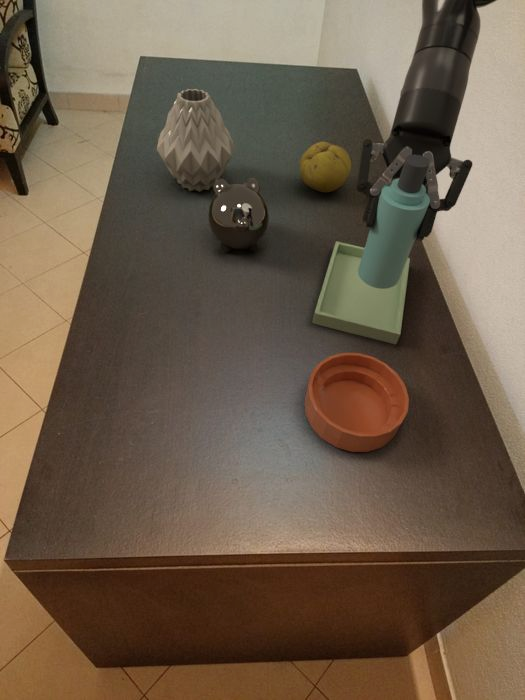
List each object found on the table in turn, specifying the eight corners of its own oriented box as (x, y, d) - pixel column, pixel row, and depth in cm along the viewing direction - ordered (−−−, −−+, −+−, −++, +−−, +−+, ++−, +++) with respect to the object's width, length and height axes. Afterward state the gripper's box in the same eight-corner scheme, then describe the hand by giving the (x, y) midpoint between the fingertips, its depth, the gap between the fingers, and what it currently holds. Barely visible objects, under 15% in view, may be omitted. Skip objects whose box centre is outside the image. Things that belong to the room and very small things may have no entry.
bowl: (402, 386, 73) (412, 366, 69) (393, 466, 64) (404, 448, 60) (314, 363, 75) (319, 342, 71) (294, 437, 66) (298, 419, 62)
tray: (406, 268, 91) (410, 258, 89) (395, 344, 78) (400, 334, 76) (333, 251, 93) (336, 241, 91) (312, 323, 80) (314, 312, 78)
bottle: (400, 266, 69) (444, 153, 56) (396, 293, 66) (443, 179, 52) (360, 257, 70) (394, 143, 57) (355, 283, 66) (389, 168, 53)
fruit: (343, 176, 111) (352, 135, 103) (347, 205, 103) (357, 162, 96) (296, 173, 110) (302, 131, 103) (297, 201, 103) (303, 158, 95)
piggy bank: (259, 217, 98) (263, 166, 89) (271, 264, 89) (276, 212, 80) (206, 219, 97) (204, 167, 88) (212, 267, 87) (211, 215, 78)
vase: (177, 157, 111) (170, 72, 97) (242, 171, 109) (246, 87, 95) (148, 193, 101) (135, 104, 87) (219, 209, 99) (219, 121, 85)
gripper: (376, 75, 56) (340, 215, 58) (500, 97, 54) (458, 242, 56) (371, 102, 63) (338, 226, 65) (479, 123, 61) (443, 250, 63)
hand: (394, 233), depth 60 cm, fingers closed on bottle, 6 cm apart
